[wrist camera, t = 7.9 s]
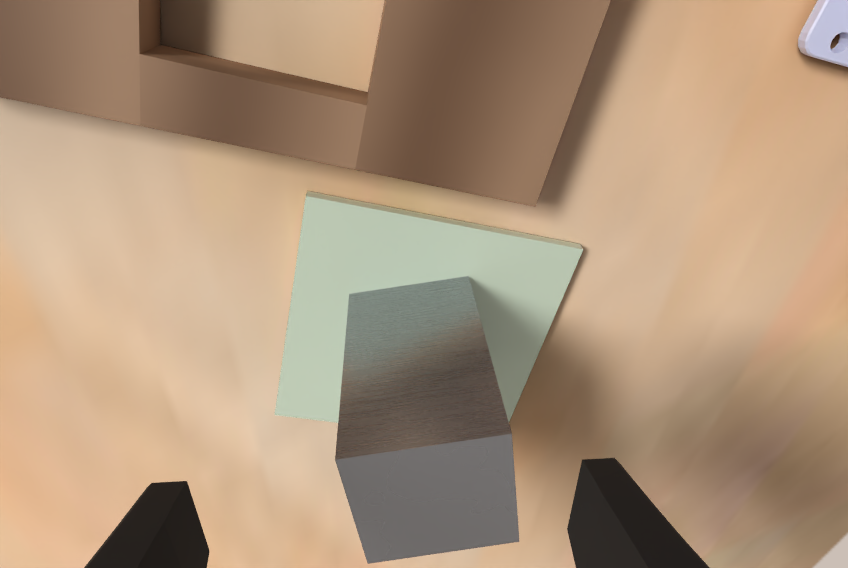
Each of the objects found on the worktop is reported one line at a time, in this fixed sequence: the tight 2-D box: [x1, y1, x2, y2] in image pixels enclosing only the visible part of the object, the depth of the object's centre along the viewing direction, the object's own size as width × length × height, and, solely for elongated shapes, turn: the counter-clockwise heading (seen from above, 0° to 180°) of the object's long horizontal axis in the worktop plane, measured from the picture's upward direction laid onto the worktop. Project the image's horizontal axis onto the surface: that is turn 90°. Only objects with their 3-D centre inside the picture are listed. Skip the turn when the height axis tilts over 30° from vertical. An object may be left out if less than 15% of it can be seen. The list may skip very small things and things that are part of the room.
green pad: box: [275, 191, 583, 423], centre depth 20 cm, size 9×9×1 cm
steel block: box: [335, 276, 519, 564], centre depth 17 cm, size 4×4×7 cm
